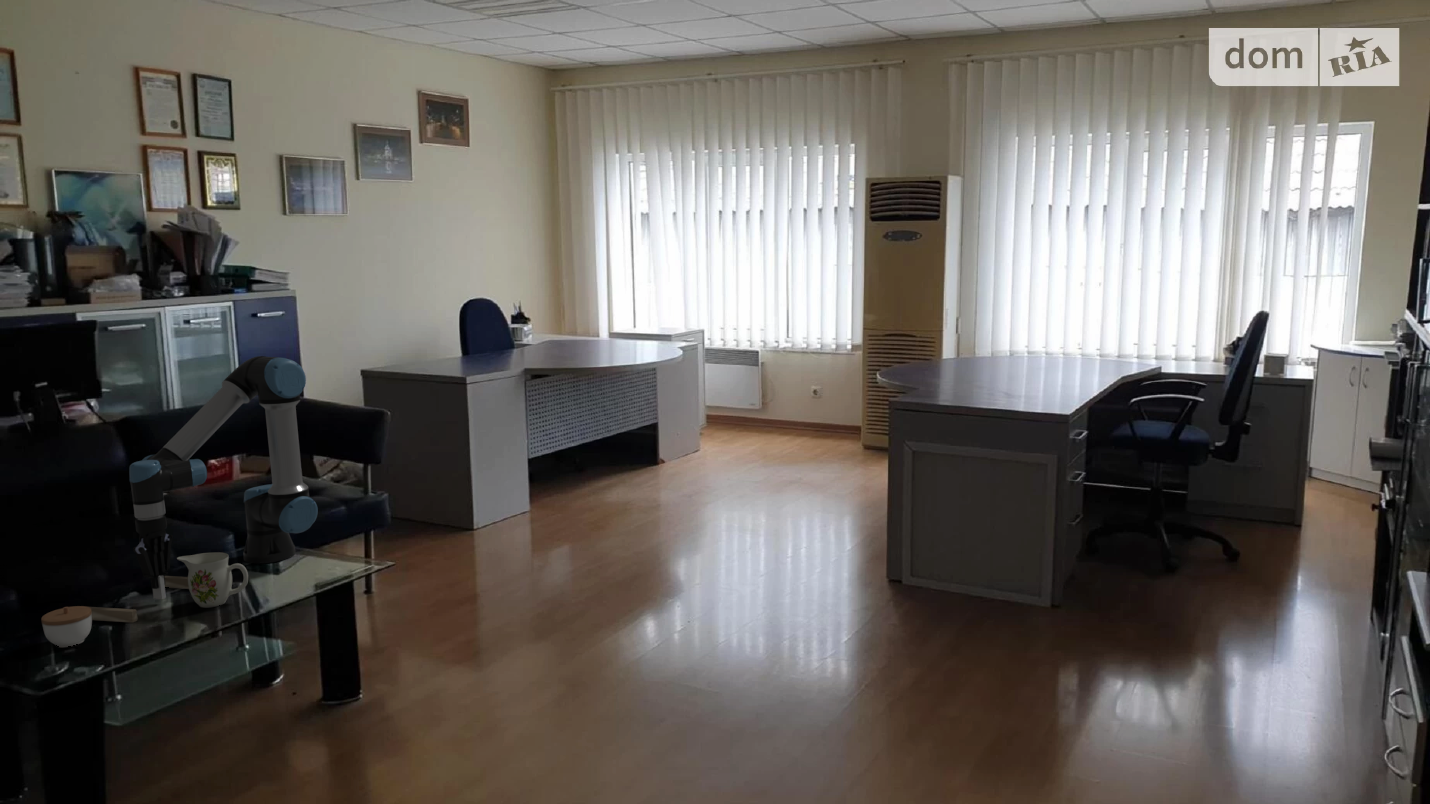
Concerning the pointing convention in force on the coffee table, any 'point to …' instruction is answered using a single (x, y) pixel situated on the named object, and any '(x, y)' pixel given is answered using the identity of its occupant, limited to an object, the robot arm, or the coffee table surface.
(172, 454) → the robot arm
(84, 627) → the lidded jar
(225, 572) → the pitcher
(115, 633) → the coffee table surface
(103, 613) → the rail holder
